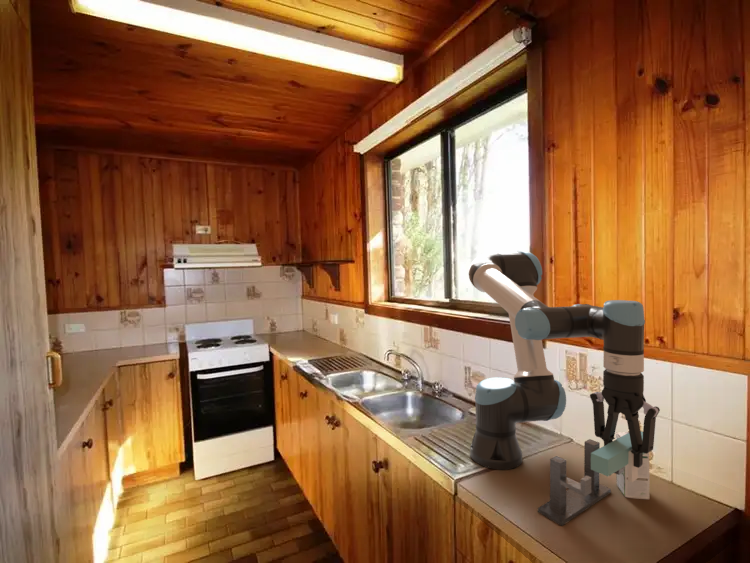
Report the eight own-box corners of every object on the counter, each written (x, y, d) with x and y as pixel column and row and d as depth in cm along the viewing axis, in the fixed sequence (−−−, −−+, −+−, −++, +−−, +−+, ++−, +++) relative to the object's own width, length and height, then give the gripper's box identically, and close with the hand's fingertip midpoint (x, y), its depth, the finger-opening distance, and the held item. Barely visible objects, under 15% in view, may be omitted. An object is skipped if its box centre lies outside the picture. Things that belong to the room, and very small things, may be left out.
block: (590, 469, 83) (590, 453, 82) (634, 443, 94) (635, 429, 93) (608, 476, 80) (608, 459, 80) (651, 449, 91) (651, 434, 91)
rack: (537, 512, 93) (537, 458, 92) (587, 481, 105) (587, 434, 104) (579, 536, 84) (579, 477, 84) (627, 500, 97) (628, 448, 96)
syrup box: (650, 500, 96) (651, 442, 96) (624, 497, 98) (624, 440, 97) (639, 487, 102) (640, 432, 101) (614, 484, 103) (615, 431, 103)
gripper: (576, 366, 91) (576, 464, 92) (659, 383, 77) (658, 499, 78) (593, 361, 95) (593, 455, 96) (675, 376, 81) (673, 486, 82)
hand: (622, 475), depth 87 cm, fingers closed on block, 3 cm apart
